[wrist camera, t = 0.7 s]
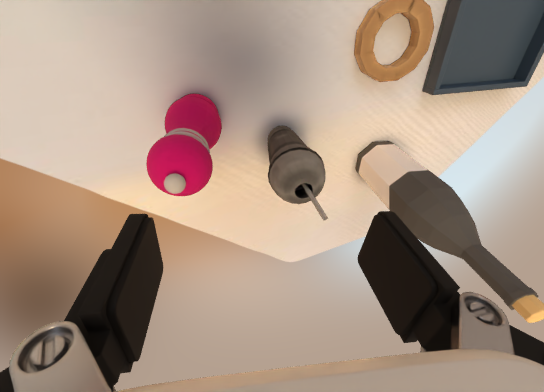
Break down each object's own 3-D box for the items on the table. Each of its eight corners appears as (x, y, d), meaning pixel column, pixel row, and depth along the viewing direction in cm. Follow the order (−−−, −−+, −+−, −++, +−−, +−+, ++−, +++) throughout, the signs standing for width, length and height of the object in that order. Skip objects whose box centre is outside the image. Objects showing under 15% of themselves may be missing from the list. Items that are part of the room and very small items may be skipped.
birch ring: (360, -3, 32) (367, -4, 30) (433, -7, 33) (443, -8, 31) (350, 81, 38) (356, 84, 36) (412, 75, 38) (420, 78, 37)
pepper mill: (224, 95, 36) (221, 156, 20) (219, 142, 40) (213, 225, 24) (171, 84, 35) (121, 142, 18) (171, 134, 38) (129, 218, 22)
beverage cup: (268, 110, 38) (296, 177, 22) (310, 124, 41) (364, 195, 24) (253, 152, 42) (268, 236, 26) (292, 163, 44) (329, 247, 28)
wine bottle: (399, 168, 48) (573, 322, 24) (358, 185, 49) (487, 349, 25) (395, 131, 43) (607, 275, 19) (350, 150, 44) (498, 310, 20)
